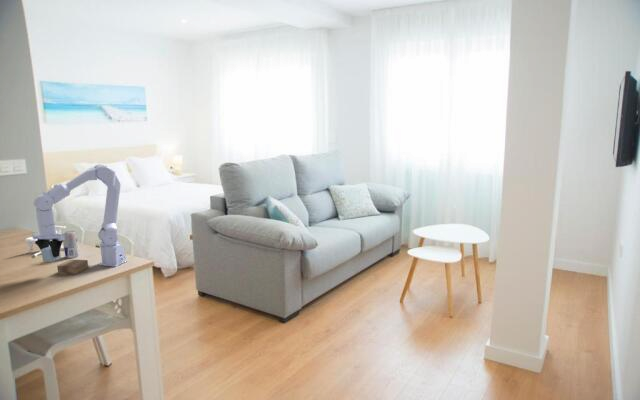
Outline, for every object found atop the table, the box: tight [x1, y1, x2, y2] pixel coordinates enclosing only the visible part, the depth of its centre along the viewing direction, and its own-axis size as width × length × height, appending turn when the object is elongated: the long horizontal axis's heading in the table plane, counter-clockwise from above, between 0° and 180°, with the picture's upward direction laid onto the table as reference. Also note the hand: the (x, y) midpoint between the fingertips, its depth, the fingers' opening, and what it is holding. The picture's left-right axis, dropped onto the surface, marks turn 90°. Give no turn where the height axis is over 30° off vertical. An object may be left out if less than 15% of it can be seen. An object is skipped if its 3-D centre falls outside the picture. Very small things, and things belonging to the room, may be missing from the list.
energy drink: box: [61, 230, 79, 259], centre depth 202 cm, size 5×5×12 cm
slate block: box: [40, 247, 62, 263], centre depth 177 cm, size 4×4×5 cm
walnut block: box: [56, 259, 89, 276], centre depth 183 cm, size 8×8×4 cm
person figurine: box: [24, 225, 67, 258], centre depth 212 cm, size 13×13×18 cm
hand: (51, 256), depth 177 cm, fingers closed on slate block, 4 cm apart
